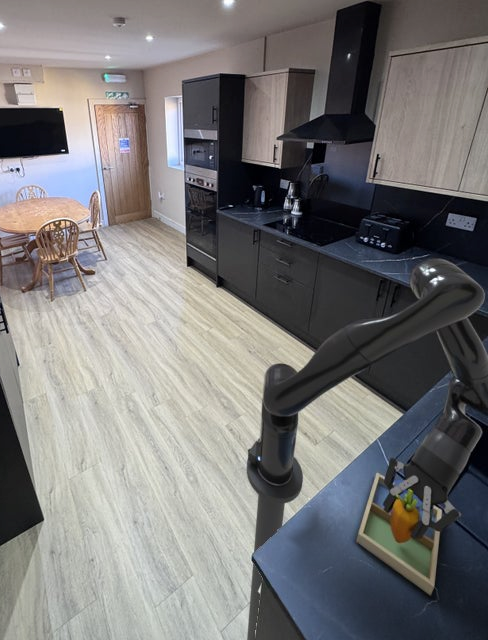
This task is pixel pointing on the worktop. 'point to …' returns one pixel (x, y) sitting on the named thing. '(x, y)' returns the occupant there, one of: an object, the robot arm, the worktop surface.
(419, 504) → the blue cylinder
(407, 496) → the carrot
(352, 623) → the worktop surface
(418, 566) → the sorting tray
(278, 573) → the worktop surface
